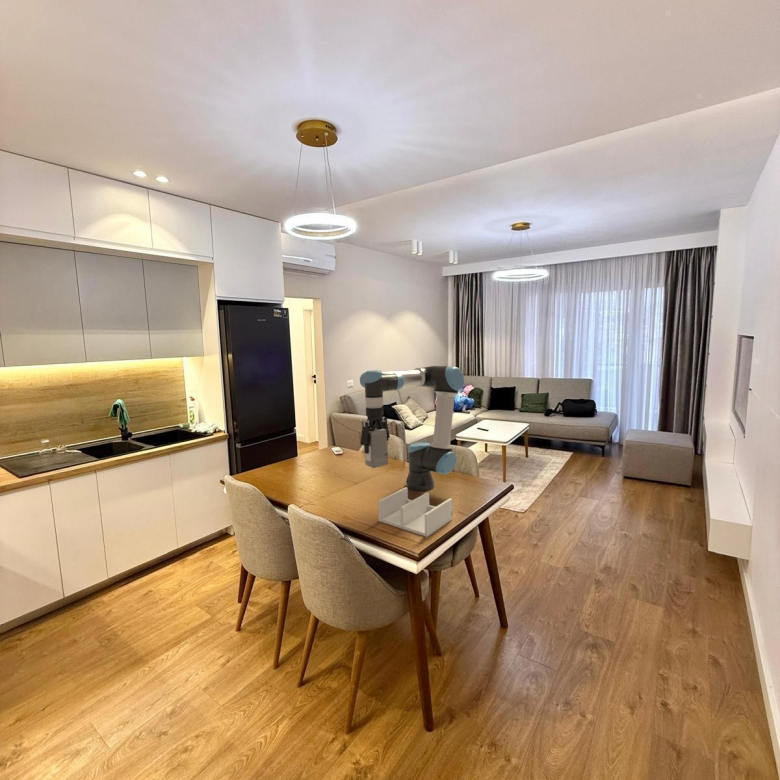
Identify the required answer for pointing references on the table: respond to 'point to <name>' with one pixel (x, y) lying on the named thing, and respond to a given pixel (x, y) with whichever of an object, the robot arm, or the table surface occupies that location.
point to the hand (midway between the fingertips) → (376, 457)
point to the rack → (414, 512)
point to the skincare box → (378, 448)
